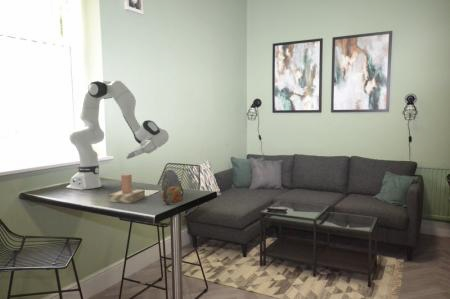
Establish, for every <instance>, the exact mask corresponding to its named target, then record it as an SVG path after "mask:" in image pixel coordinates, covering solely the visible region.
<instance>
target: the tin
mask: <svg viewBox="0 0 450 299" xmlns="http://www.w3.org/2000/svg"><path fill="white" fill-rule="evenodd" d="M181 186H182V185H181ZM181 186H173V187H170V188H167V189H165V190H164V191H163V192H162V201H163V202H164V204H166V205H173V204H175V203H179V202H180V201H182V199H183V198H184V189H183V186H182V187H181ZM172 203H173V204H172Z"/></svg>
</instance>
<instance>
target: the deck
mask: <svg viewBox="0 0 450 299" xmlns="http://www.w3.org/2000/svg"><path fill="white" fill-rule="evenodd" d="M145 190H146V189H132V192H131V193H122V189H121V190H118V191H115V192H112V193H110V194H108V199H109V200H108V201H109V203H125V204H134V203H135V202H137V201H140V200H142V199H143V198H144V199H145V197H146V196H145Z"/></svg>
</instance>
